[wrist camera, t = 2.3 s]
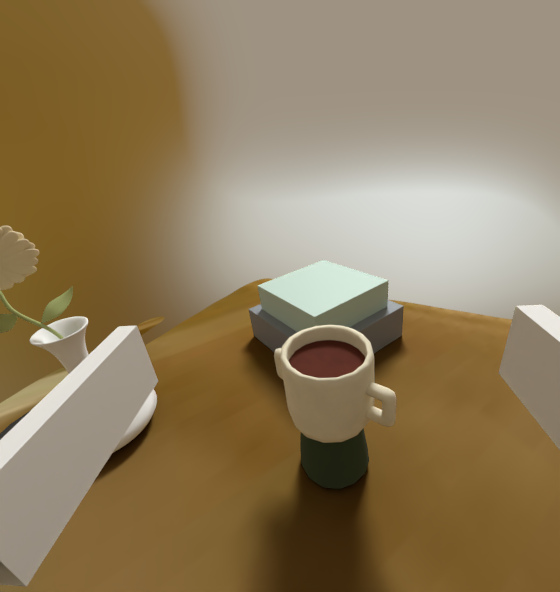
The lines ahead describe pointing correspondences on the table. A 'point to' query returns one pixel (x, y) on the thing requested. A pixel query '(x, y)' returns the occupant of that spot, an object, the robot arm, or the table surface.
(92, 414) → the robot arm
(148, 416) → the flower in vase
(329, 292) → the tower base
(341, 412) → the character mug
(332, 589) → the table surface
